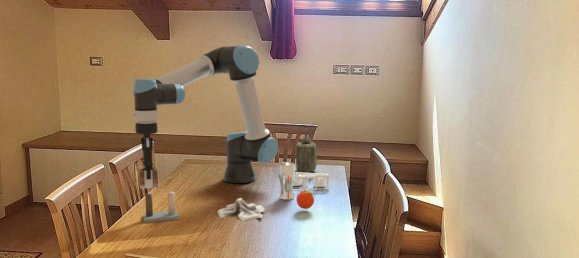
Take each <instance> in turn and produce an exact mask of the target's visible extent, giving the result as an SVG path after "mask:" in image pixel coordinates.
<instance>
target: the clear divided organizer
mask: <svg viewBox="0 0 579 258" xmlns="http://www.w3.org/2000/svg"><path fill="white" fill-rule="evenodd" d="M329 177H330V174H328V173H321V172H316V173H315V172H310V173H309V172H302V171H295V179H294V185H293V187H294V186H295V187H298V186H302V188H301V189H295V188H293V191H298V192H300V191H301V192H303V191H308V192H311V191H312V192H313V191H318V190H329V189H330V188H329V187H330V186H329V185H330V184H329V183H330V179H329ZM310 179H313V185H309V180H310ZM309 187H310V188H309Z"/></svg>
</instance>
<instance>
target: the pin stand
mask: <svg viewBox="0 0 579 258" xmlns="http://www.w3.org/2000/svg"><path fill="white" fill-rule="evenodd" d="M175 194H176V192H175V191H168V192H167V205H168V206H167V207H168V209H167V210H163V211H154V209H153V208H154V207H153V206H154V205H153V193H145V196H144V197H145V212H143V216H142V217H143V222H144V223H155V222H165V221H166V222H167V221H176V220H179V213H178V210H177V209H176V201H175V200H176V195H175Z"/></svg>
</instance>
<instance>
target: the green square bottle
mask: <svg viewBox="0 0 579 258" xmlns="http://www.w3.org/2000/svg"><path fill="white" fill-rule="evenodd" d="M295 151H296V152H295V154H296V155H295V160H296V161H295V165H296V166H295V172H304V173H313V171H315V170H316V169H317V160H318V159H317V154H318V153H317V151H318V148H317V144H316V143H315V142H313V141H312V140H311V139H310V138H309V137H308V129H307V128H305V132H304V137H303V138H302V139H301V141H299V142H297V144H296V149H295Z"/></svg>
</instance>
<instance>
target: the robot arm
mask: <svg viewBox="0 0 579 258" xmlns="http://www.w3.org/2000/svg"><path fill="white" fill-rule="evenodd" d="M259 65H260V58H259V54H258V53H257V51H256V50H255V49H254V48H253V47H251V46H248V45H230V46H220V47H217V48H216V49H213V50H210V51H208V52H206V53H204V54H202V55H200V56H199V57H198V58H197V60H195V61H192V62H191V63H187V64H185V65H183V66H182V67H179V68H177V69H174V70H173V71H170V72H168V73H165V74H164V75H162V76H159V77H158V78H155V79H154V78H137V79H135V80H134V82H133V83H134V84H133V92H132V93H133V94H132V95H133V97H134V111H135V112H134V113H133V115H132V116H134V117H135V118H134V119H135V122H136V123H135V126H134V127H135V134H137V135H142V137H141V138H140V142H141V149H142V154H143V155H142V158H143V160H142V163H143V167H142V169H143V170H144V177H145V188H144V189H154V188H153V176H152V169H153V168H154V167H153V165H154V164H153V152H152V151H153V144H154V139H153V137H151V135H153V134H156V133H158V106H160V105H161V106H163V105H178V104H182V103H183V102H184V101H185V98H186V91H185V88H184V87H185V86H188V85H189V84H192V83H194V82H197V81H198V80H200V79H202V78H205V77H212V76H214V75H219V74H228V76H229V79H230V81H231V82H233V84H234V85H235V89H236V94H237V97H238V98H237V99H238V101H239V106H240V110H241V114H242V118H243V122H244V128H245V130H246V131H238V132H233V133H232V132H231V133H228V134H227V136H226V167H225V170H224V174H223V182H226V183H231V184H245V183H250V182H254V181H255V180H256V173H255V170H254V167H253V164H252V161H254V162H258V163H265V164H266V163H270V162H272V161H273V160H274V159H275V157H276V156H277V153H278V150H279V144H278V140H277V139H276V138H274V137H272V135H271V132H270V130H269V129H267V128H266V126H265V125H266V124H265V121H264V120H265V119H264V116H263V111H262V108H261V103H260V99H259V95H258V91H257V85H256V80H255V78H256V76H257V71H258V70H259Z"/></svg>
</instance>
